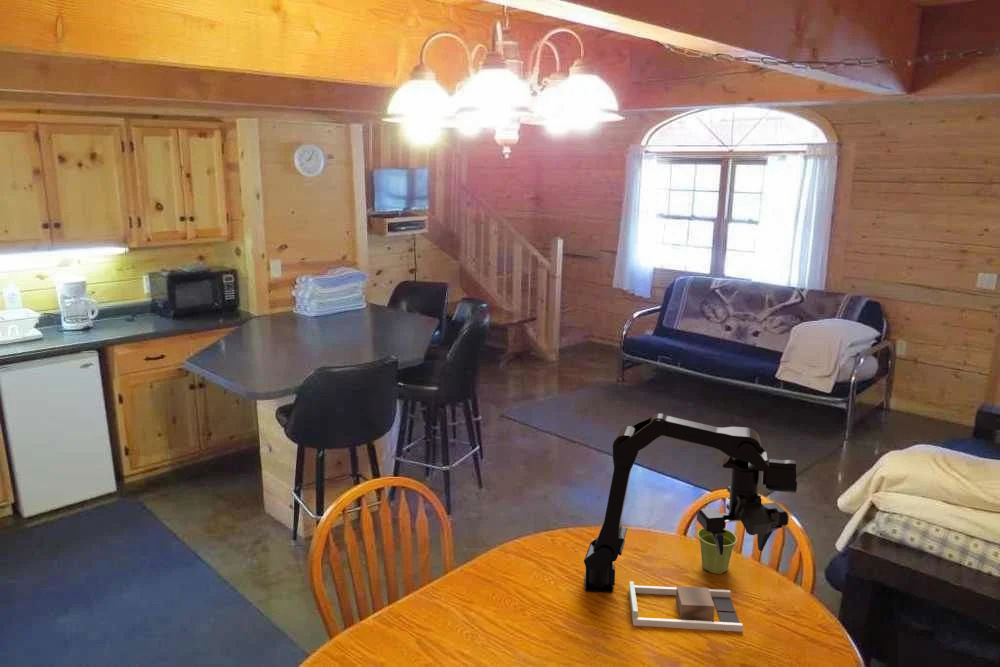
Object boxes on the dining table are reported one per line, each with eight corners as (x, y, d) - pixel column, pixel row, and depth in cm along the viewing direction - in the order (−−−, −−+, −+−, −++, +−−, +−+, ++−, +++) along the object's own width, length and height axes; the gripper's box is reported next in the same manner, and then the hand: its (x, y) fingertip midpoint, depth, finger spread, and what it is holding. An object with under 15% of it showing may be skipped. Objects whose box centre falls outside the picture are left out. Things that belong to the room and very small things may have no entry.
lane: (633, 625, 150) (633, 613, 150) (628, 590, 163) (629, 579, 162) (742, 631, 148) (743, 619, 147) (729, 595, 160) (730, 584, 160)
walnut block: (680, 620, 152) (681, 604, 151) (675, 602, 159) (676, 586, 158) (713, 622, 151) (714, 606, 151) (707, 603, 158) (708, 587, 157)
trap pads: (722, 627, 149) (722, 626, 149) (712, 597, 160) (712, 596, 160) (741, 628, 149) (741, 627, 149) (730, 598, 159) (730, 597, 159)
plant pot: (730, 558, 176) (732, 527, 174) (738, 579, 167) (741, 546, 165) (692, 556, 177) (694, 525, 175) (699, 577, 168) (701, 544, 166)
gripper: (719, 507, 141) (716, 576, 144) (805, 499, 143) (800, 567, 147) (697, 484, 152) (694, 548, 155) (777, 477, 154) (772, 541, 157)
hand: (740, 552), depth 153 cm, fingers open, 9 cm apart
